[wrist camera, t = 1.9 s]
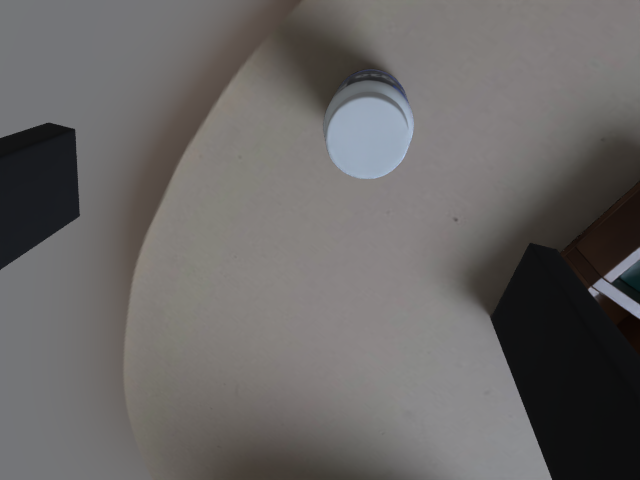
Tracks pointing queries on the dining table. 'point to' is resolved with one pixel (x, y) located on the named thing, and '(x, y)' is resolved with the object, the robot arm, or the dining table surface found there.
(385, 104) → the pill bottle
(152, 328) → the dining table surface
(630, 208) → the grid
